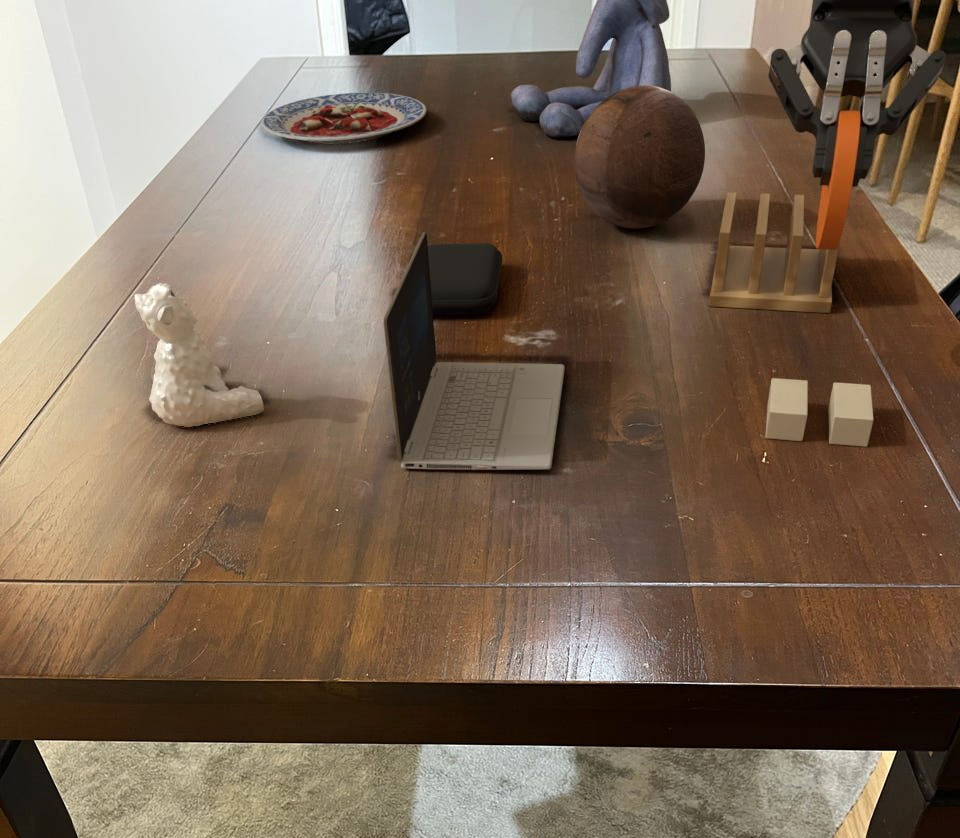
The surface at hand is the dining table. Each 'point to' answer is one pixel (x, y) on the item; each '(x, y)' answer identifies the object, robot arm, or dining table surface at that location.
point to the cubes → (845, 412)
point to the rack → (772, 267)
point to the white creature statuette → (187, 367)
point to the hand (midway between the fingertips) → (840, 180)
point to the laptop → (462, 394)
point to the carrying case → (464, 277)
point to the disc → (839, 182)
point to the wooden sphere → (639, 156)
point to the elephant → (631, 62)
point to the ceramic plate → (344, 117)
